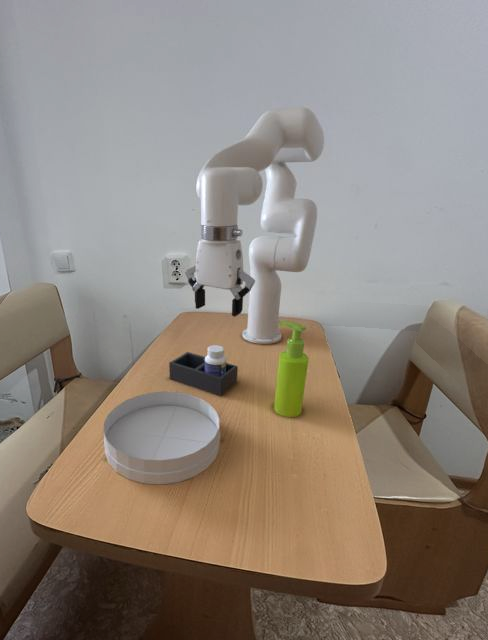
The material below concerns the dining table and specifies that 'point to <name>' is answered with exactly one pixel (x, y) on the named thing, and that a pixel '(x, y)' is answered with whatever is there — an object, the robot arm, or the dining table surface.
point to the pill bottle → (215, 361)
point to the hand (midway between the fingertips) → (217, 310)
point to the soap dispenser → (291, 374)
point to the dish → (161, 437)
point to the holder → (201, 374)
